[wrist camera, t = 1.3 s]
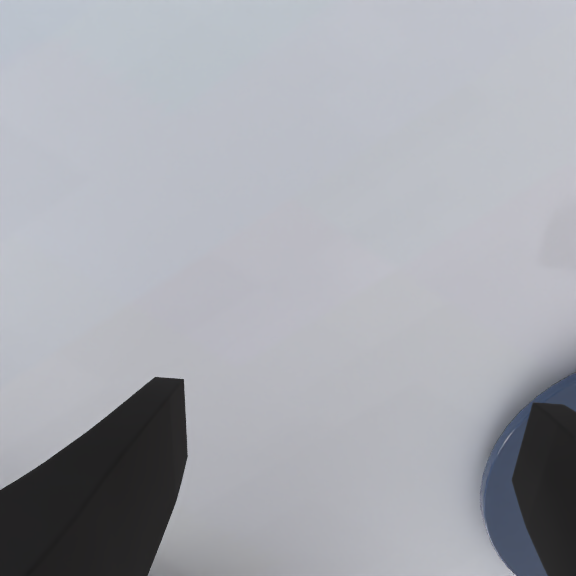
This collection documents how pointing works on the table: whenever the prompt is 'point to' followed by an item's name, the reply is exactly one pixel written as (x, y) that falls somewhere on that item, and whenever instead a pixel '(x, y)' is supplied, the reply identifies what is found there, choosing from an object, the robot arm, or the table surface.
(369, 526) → the table surface
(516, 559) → the lid
